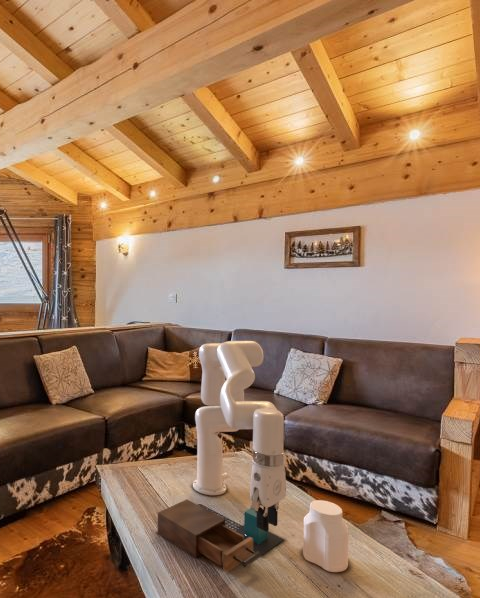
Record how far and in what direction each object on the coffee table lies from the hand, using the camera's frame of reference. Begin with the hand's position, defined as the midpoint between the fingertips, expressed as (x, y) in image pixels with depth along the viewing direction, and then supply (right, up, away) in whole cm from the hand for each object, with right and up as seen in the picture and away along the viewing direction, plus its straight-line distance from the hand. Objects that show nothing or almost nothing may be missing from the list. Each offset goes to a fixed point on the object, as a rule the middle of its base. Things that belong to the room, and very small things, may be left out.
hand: (266, 525), depth 111 cm
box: (+4, -14, +20) cm, 25 cm away
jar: (+20, -15, +10) cm, 27 cm away
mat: (+4, -15, +20) cm, 25 cm away
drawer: (-8, -14, +11) cm, 19 cm away
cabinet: (-16, -15, +21) cm, 30 cm away
